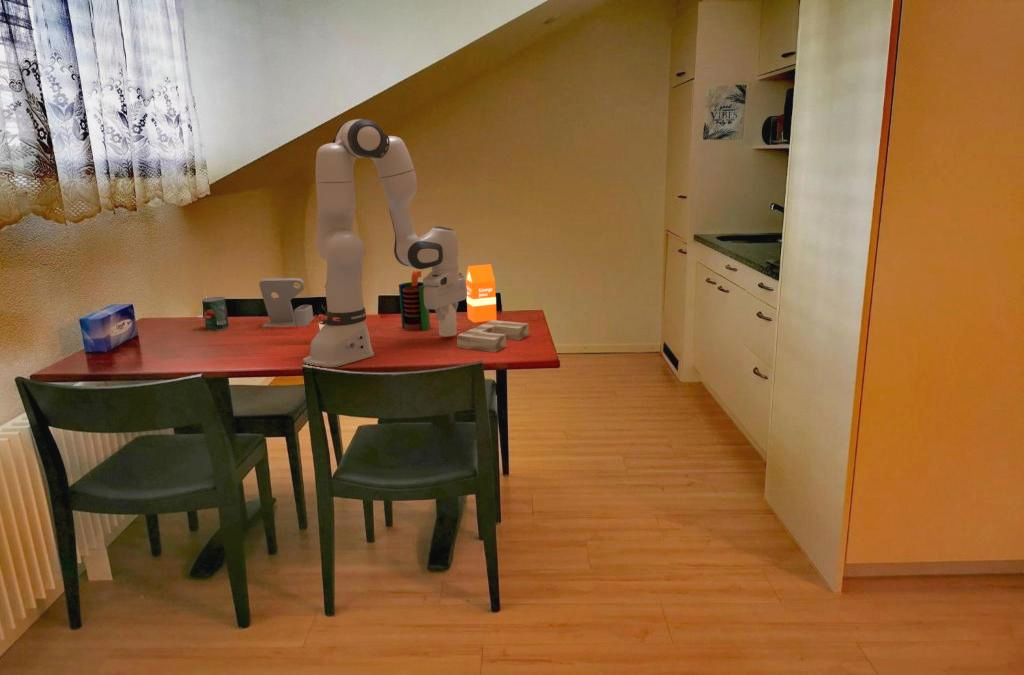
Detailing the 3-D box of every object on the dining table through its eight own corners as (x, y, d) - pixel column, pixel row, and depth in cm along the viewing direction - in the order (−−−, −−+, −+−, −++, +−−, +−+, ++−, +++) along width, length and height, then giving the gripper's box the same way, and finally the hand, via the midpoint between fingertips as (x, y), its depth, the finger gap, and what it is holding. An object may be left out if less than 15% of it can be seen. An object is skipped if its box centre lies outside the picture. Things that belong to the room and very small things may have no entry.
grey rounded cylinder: (435, 301, 238) (438, 297, 244) (437, 336, 242) (440, 332, 247) (454, 300, 238) (456, 297, 243) (455, 336, 241) (458, 332, 247)
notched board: (495, 352, 226) (494, 339, 225) (457, 347, 233) (456, 335, 232) (528, 335, 244) (528, 323, 243) (492, 331, 251) (492, 320, 250)
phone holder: (316, 320, 276) (311, 273, 271) (306, 327, 266) (301, 278, 261) (271, 321, 277) (266, 274, 273) (260, 327, 267) (254, 279, 263)
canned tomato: (201, 330, 266) (197, 301, 263) (214, 325, 273) (210, 296, 270) (220, 331, 264) (216, 301, 261) (233, 326, 271) (229, 297, 269)
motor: (397, 330, 257) (393, 274, 252) (409, 324, 265) (405, 269, 260) (424, 331, 254) (420, 274, 249) (434, 325, 262) (431, 270, 257)
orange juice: (467, 318, 271) (464, 264, 266) (489, 315, 274) (487, 262, 269) (473, 322, 264) (471, 267, 259) (496, 320, 267) (494, 265, 262)
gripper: (455, 271, 249) (456, 310, 253) (419, 280, 232) (421, 322, 236) (470, 272, 246) (472, 312, 250) (435, 282, 229) (437, 324, 233)
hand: (447, 317), depth 243 cm, fingers closed on grey rounded cylinder, 5 cm apart
